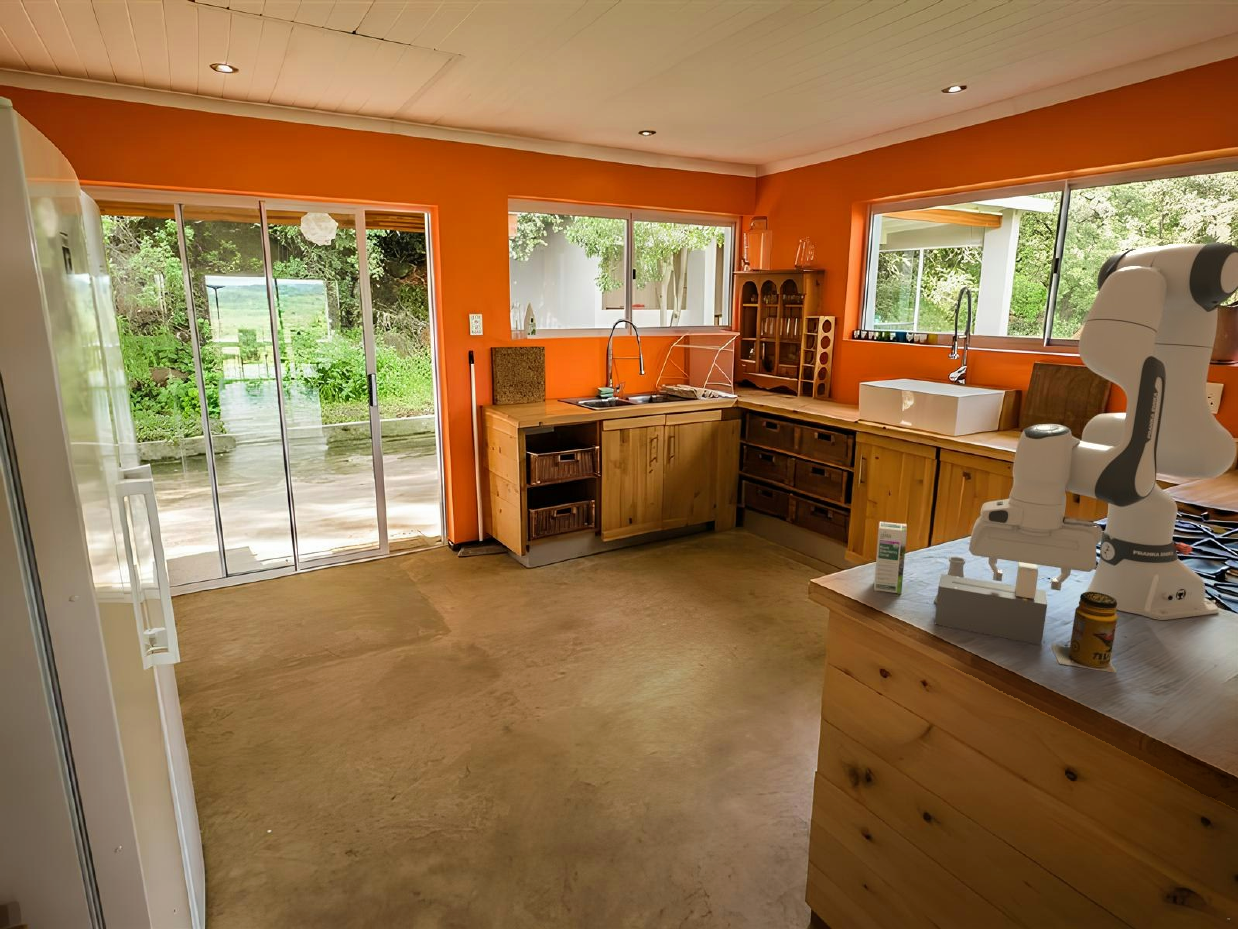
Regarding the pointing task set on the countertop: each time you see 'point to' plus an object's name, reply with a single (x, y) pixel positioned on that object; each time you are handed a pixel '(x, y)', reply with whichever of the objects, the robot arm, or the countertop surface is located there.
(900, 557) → the syrup box
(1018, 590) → the fader
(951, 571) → the flask
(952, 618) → the console
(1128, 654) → the countertop surface
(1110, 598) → the condiment
